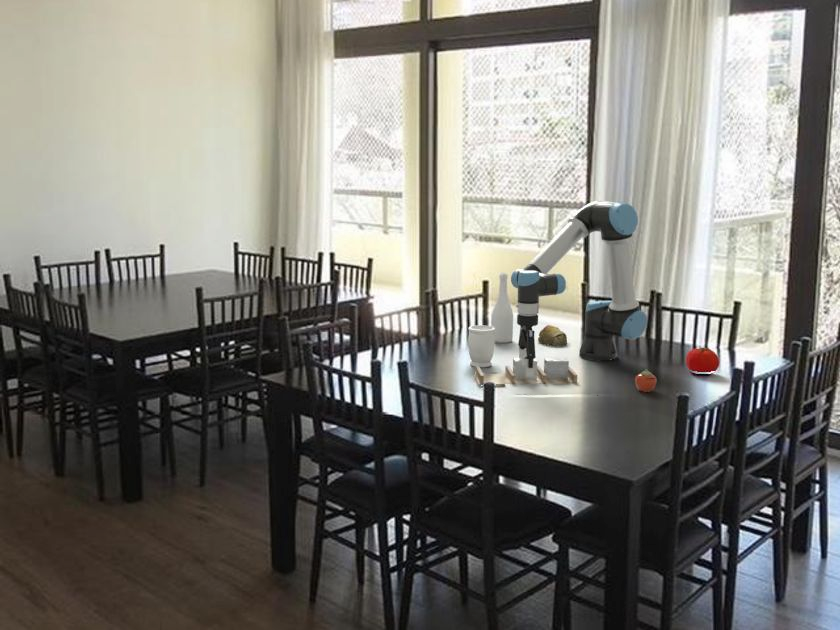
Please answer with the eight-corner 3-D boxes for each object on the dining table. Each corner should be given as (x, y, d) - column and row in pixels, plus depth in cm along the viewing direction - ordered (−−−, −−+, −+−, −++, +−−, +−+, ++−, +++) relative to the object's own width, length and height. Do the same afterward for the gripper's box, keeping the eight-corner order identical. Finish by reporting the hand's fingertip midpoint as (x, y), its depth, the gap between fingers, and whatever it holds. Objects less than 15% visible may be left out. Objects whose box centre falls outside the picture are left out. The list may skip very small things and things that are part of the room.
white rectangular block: (534, 376, 321) (534, 358, 319) (536, 379, 316) (537, 361, 315) (512, 376, 320) (513, 358, 319) (514, 379, 316) (515, 361, 314)
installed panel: (565, 376, 321) (565, 358, 320) (567, 379, 317) (568, 361, 316) (543, 376, 321) (544, 358, 320) (546, 380, 316) (546, 361, 315)
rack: (569, 375, 326) (569, 365, 326) (579, 386, 312) (580, 376, 311) (473, 376, 324) (473, 366, 323) (479, 387, 309) (479, 376, 308)
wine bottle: (513, 343, 379) (515, 275, 374) (491, 343, 379) (493, 274, 374) (511, 338, 389) (513, 272, 383) (490, 338, 389) (491, 271, 383)
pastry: (537, 339, 389) (537, 321, 387) (565, 340, 388) (566, 322, 386) (538, 346, 375) (539, 328, 373) (568, 347, 374) (569, 329, 372)
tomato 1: (643, 394, 303) (644, 372, 301) (629, 389, 309) (631, 367, 308) (660, 392, 305) (661, 370, 304) (647, 387, 312) (648, 365, 311)
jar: (492, 369, 335) (493, 331, 332) (465, 367, 337) (466, 329, 334) (495, 362, 345) (496, 325, 342) (469, 361, 347) (470, 324, 344)
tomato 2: (692, 368, 340) (694, 342, 338) (723, 374, 331) (725, 348, 329) (677, 373, 332) (679, 346, 330) (709, 379, 324) (711, 352, 322)
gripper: (511, 307, 326) (510, 362, 330) (523, 320, 301) (522, 380, 305) (531, 307, 326) (529, 362, 330) (545, 320, 302) (543, 380, 306)
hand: (526, 371), depth 318 cm, fingers open, 13 cm apart
